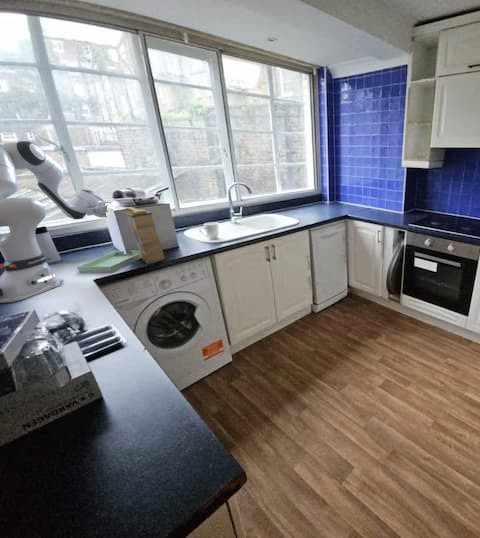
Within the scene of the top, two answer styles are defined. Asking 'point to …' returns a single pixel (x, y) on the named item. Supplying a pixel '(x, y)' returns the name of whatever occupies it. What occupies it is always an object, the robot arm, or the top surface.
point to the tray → (110, 262)
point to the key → (136, 211)
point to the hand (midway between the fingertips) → (111, 207)
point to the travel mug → (47, 245)
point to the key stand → (146, 237)
